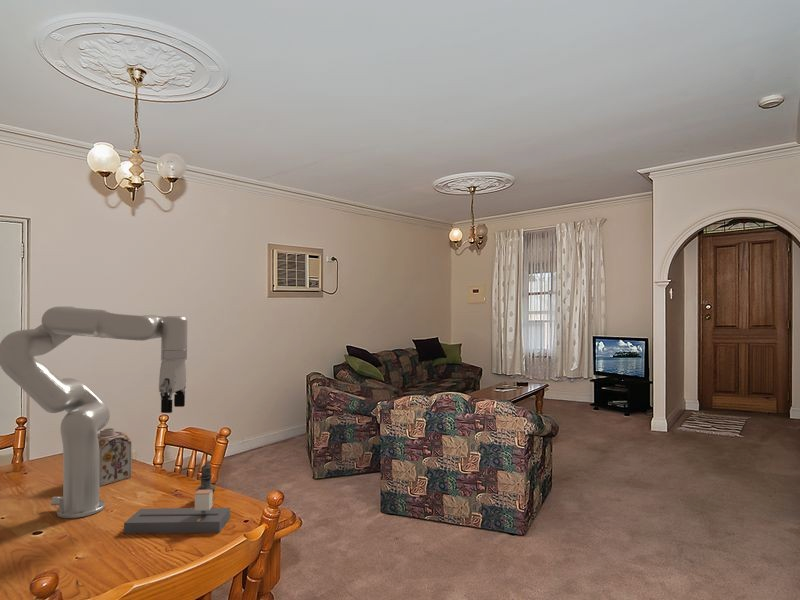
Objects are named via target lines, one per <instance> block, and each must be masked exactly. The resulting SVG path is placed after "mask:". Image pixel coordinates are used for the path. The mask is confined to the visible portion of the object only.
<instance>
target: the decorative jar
mask: <svg viewBox="0 0 800 600" xmlns="http://www.w3.org/2000/svg"><path fill="white" fill-rule="evenodd" d="M97 437H98V442H99V457H100V479H99V487H103V485H104V486H106V484H107V485H110V484H113V483H116V481H117V482H120V481H123V479H124V480H127V479H130V477H131V478H132V475H133V473H132V469H133V465H132V464H133V461H132V460H133V457H132V456H133V455H132V454H133V453H132V451H133V450H132V449H133V448H132V442H133V441H132V440H131V439H130V437H129V436H128V434H127V433H125V432H122V431H116V430H115V428H111V427H110V428H109V427H108V428H102V429H100V430H99V433H97ZM126 478H127V479H126ZM119 480H120V481H119ZM112 482H113V483H112ZM109 483H110V484H109Z"/></svg>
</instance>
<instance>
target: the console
mask: <svg viewBox="0 0 800 600" xmlns="http://www.w3.org/2000/svg"><path fill="white" fill-rule="evenodd" d="M230 518H231V507H212V508H211V509H210V510H207V513H206V514H202V515H201V510H199V511H195V507H181V508H180V507H179V508H178V507H175V508H171V507H170V508H168V507H167V508H165V507H164V508H140V509H139V510H138V511H137V512H135V513H134V514H132V516H131V517H129V518H128V519H126V521H124V522H123V534H124V535H132V534H134V533H154V534H206V533H208V534H210V533H211V534H215V533H217V534H218V533H221V531H223V528H224V527H225V526H226V524H227V523H228V522H229V520H231V519H230ZM128 533H129V534H128ZM134 535H135V534H134Z"/></svg>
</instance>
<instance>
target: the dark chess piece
mask: <svg viewBox="0 0 800 600" xmlns="http://www.w3.org/2000/svg"><path fill="white" fill-rule="evenodd" d="M200 470H201V472H200V473H201V476H200V477H199V478H200V486H199V487H197V488H196V490H195V491H196V492H197V491H198V490H213V494H214V493H215V489H216V486H215V485H212V477H213V476H212V473H211V472H212V468H211V465H209V464H208V462H204V465H203V466H201V469H200Z"/></svg>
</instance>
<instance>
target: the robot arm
mask: <svg viewBox="0 0 800 600" xmlns="http://www.w3.org/2000/svg"><path fill="white" fill-rule="evenodd" d="M72 336H78V337H87V338H88V337H91V338H101V339H105V338H107V339H115V340H123V341H124V340H125V341H126V340H127V341H142V342H143V341H148V340H154V339H157V338H158V339H160V341H161V343H160V361H161V363H160V368H159V377H158V392H159V395H160V400H161V401H160V413H161V414H172V413H173V407H175V408H177V407H180V408H182V407H185V403H186V400H185V399H186V388H187V386H186V382H187V370H186V369H187V367H186V361H187V360H188V319H187V317H185V316H184V315H183V316H181V315H168V316H167V315H166V316H160V315H154V314H153V315H152V314H151V315H150V314H149V315H147V314H146V315H133V314H121V313H113V312H109V311H107V310H104V309H94V308H81V307H75V306H68V305H67V306H54V307H51V308H48V309H47V310H45V312H44V313H43V314H42V316H41V324H40V325H38V326H37V327H36V328H31V329H29V328H28V329H20V330H16V331H13V332H11V333H9V334H7V335H6V336H4V337H3V339H2V340H1V341H0V369H2V371H3V372H4V373H5V375H6V376H7V377H9V378H10V379H11V380H12V381H13V382H14V383H15V384H17V386H19V387H20V388H21V389H22V390H23V391H24V392H25V393H26V394H27V395H28V396H29V397H30V398H31V400H33V401H35V403H37V405H39V406H40V407H41V409H43V410H44V411H45V412H47V413H50V414H57V413H62V412H64V411H65V412H66V414H64V417H63V418H62V420H61V422H60V436H61V441H62V454H63V455H62V460H63V461H62V463H63V465H62V467H63V470H62V473H63V476H62V477H63V480H62V487H63V489H62V490H63V491H62V494H63V495H62V496H52V497H51V500H50V505H51V506H59V508H58V509H57V510H56V516H57V517H59V518H63V519H77V518H82V517H87V516H91V515H94V514H96V513H99V512H101V511H102V510H104V508H105V507H106V502H105V501H104V500H102V499H100V486H99V479H100V457H99V442H98V437H97V434H98V432H100V430H102V429H104V427H105V428H106V426H107V424H108V423H109V422H110V421H109V420H110V416H111V414H110V410H109V407H108V406H106V403H104V402H103V401H102V400H101V399H100V398H99V397H98V395H96V394H95V393H94V392H93V391H92V390H90V389H89V387H87V385H85V383H83V382H82V381H80V380H78V379H76V378H71V377H70V378H69V377H67V378H62V379H60V378H59V377H58V376H56V375H55V374H54V373H53V372H52V371H51V370H50V369H49V368H48V367H47V366H46V365H44V364H43V363H42V362H40V361H39V360H37V359H36V358H35V357H38V356H39V357H40V356H42V355H45V354H48V353H49V352H51V351H53V350H54V349H56V348H57V347H59V346H60V345H61V344H63V343H64V342H65V341H67V340H68V339H70V338H71V337H72ZM174 393H175V394H174ZM173 395H174V397H173ZM172 397H173V399H172ZM173 402H174V403H173Z"/></svg>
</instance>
